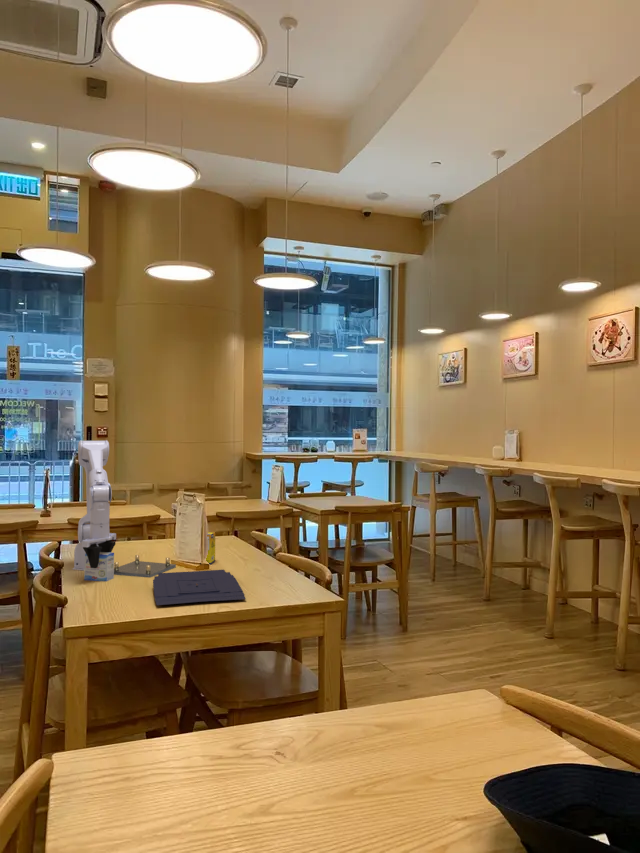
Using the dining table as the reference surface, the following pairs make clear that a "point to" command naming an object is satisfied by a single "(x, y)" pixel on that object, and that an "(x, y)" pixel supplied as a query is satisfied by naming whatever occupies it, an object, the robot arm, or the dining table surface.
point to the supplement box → (211, 547)
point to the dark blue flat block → (196, 587)
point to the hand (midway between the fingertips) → (99, 566)
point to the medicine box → (100, 568)
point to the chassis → (142, 568)
